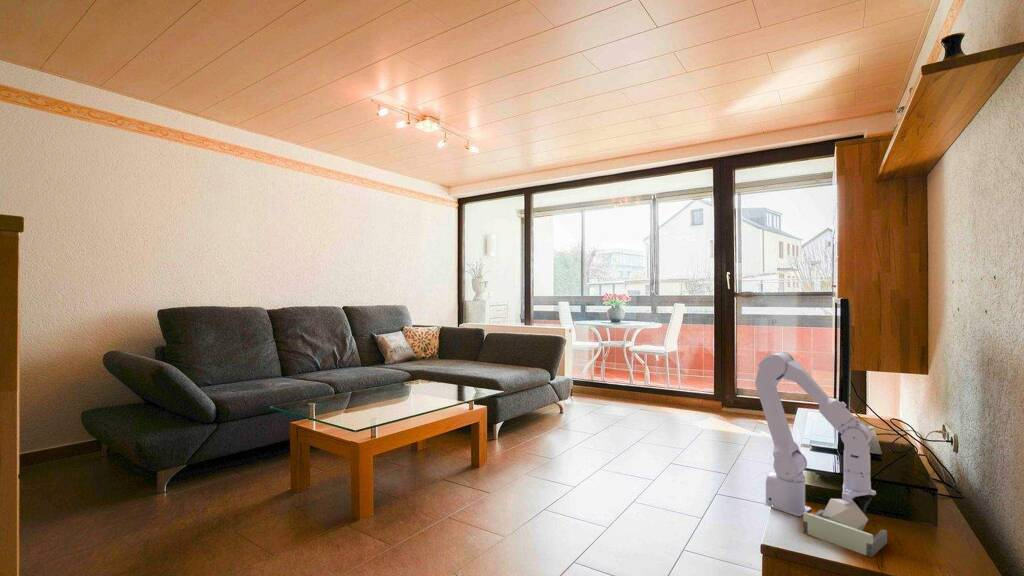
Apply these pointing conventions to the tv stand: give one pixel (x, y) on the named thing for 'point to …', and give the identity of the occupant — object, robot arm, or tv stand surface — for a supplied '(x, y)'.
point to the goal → (843, 534)
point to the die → (845, 513)
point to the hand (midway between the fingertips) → (856, 522)
